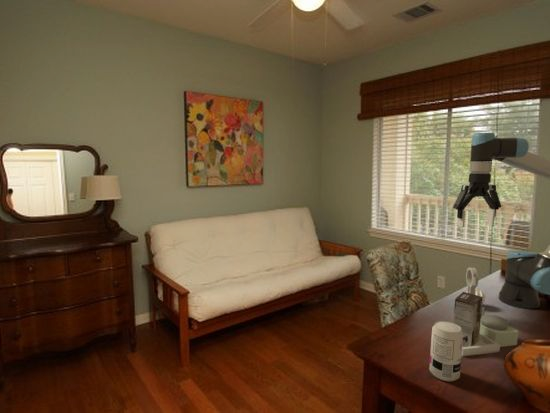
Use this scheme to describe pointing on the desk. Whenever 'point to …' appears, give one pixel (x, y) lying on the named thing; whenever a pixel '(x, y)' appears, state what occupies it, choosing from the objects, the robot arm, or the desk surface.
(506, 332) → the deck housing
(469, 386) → the desk surface
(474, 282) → the engine component
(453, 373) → the supplement can
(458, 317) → the coffee box
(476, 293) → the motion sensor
